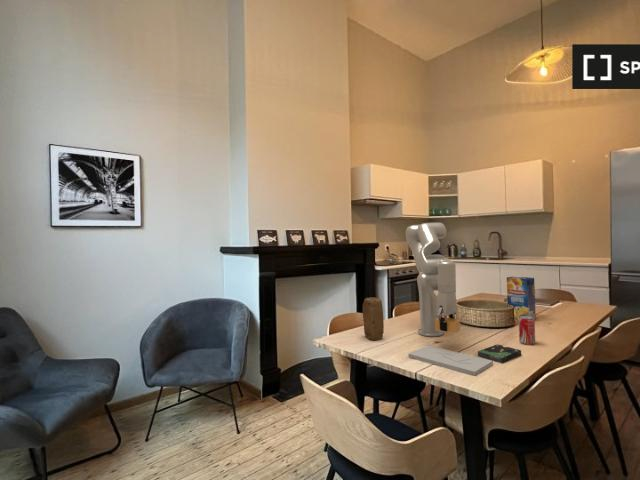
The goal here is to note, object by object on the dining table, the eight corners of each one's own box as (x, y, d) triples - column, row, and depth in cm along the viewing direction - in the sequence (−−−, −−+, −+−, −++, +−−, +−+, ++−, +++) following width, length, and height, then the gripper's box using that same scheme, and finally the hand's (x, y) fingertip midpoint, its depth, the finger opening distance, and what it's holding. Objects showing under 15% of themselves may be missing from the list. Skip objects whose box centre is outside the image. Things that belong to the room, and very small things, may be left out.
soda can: (530, 346, 151) (529, 319, 151) (516, 342, 156) (515, 316, 156) (538, 343, 154) (537, 317, 154) (524, 340, 159) (523, 314, 159)
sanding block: (439, 327, 157) (439, 316, 157) (459, 330, 151) (459, 319, 151) (435, 330, 153) (435, 319, 152) (455, 334, 147) (455, 322, 147)
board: (428, 348, 153) (428, 345, 153) (492, 364, 131) (492, 360, 131) (408, 357, 143) (408, 353, 143) (474, 376, 122) (474, 371, 122)
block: (385, 339, 169) (383, 299, 169) (372, 341, 166) (370, 300, 166) (374, 334, 179) (373, 295, 179) (361, 335, 176) (360, 297, 176)
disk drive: (497, 350, 149) (477, 357, 141) (496, 344, 149) (477, 350, 141) (521, 356, 140) (502, 364, 132) (521, 349, 140) (502, 357, 132)
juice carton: (535, 319, 195) (534, 277, 195) (528, 321, 192) (527, 279, 192) (514, 315, 206) (513, 276, 206) (507, 317, 202) (506, 277, 202)
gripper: (448, 285, 159) (449, 322, 160) (428, 290, 148) (429, 331, 149) (464, 286, 154) (465, 326, 155) (444, 293, 143) (445, 335, 143)
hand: (447, 328), depth 152 cm, fingers closed on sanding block, 6 cm apart
